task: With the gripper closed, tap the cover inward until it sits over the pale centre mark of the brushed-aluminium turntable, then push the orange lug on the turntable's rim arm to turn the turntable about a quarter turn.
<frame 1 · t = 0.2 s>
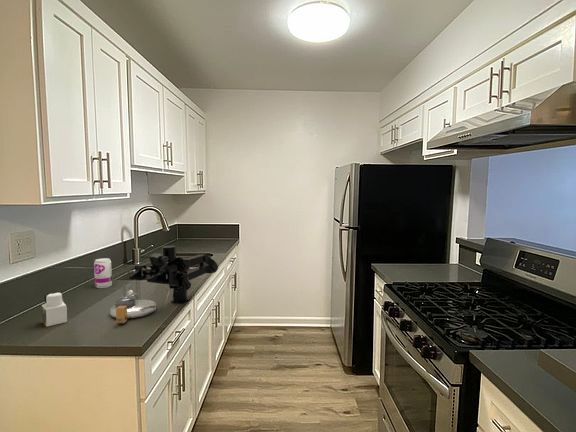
hand: (138, 279, 142), 17 cm above the worktop, tool horizontal, fingers open, 9 cm apart
cover: (125, 305, 153), point 3 cm above the worktop, touching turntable
medicine bottle: (54, 322, 140), on the worktop
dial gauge: (133, 302, 164), on the worktop
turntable: (131, 305, 149), point 4 cm above the worktop, hinge at 0.0°, touching cover
supplement can: (103, 286, 191), on the worktop
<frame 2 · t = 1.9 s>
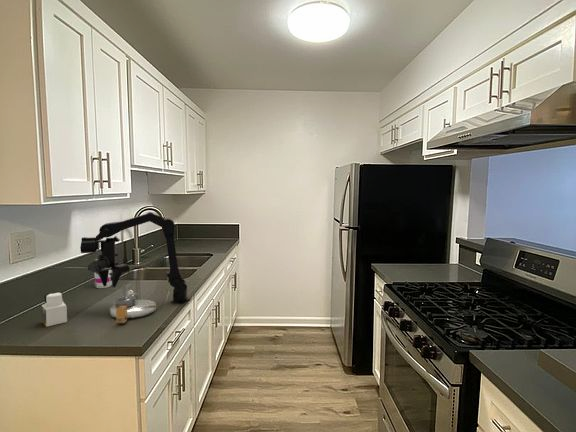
hand: (109, 286, 155), 10 cm above the worktop, tool pointing down, fingers open, 5 cm apart
nothing on the worktop moved.
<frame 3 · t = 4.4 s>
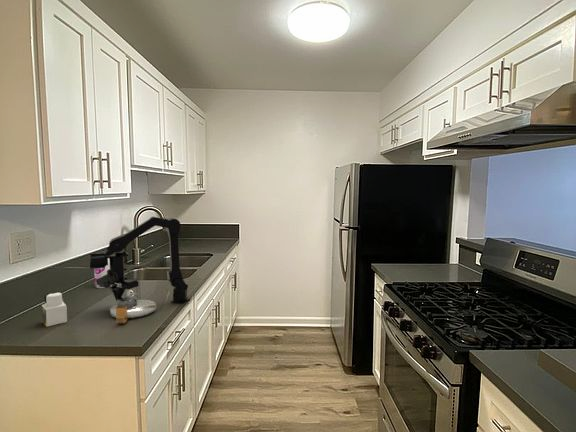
hand: (118, 301, 154), 4 cm above the worktop, tool pointing down, fingers closed
cover: (127, 305, 152), point 3 cm above the worktop, touching gripper, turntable
everything else where it was.
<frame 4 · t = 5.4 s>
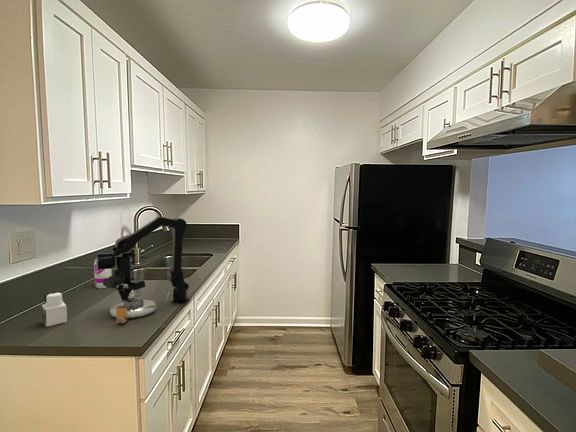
hand: (124, 302, 153), 4 cm above the worktop, tool pointing down, fingers closed
cover: (133, 306, 151), point 3 cm above the worktop, touching gripper
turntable: (131, 305, 149), point 4 cm above the worktop, hinge at 0.1°
everything else where it was.
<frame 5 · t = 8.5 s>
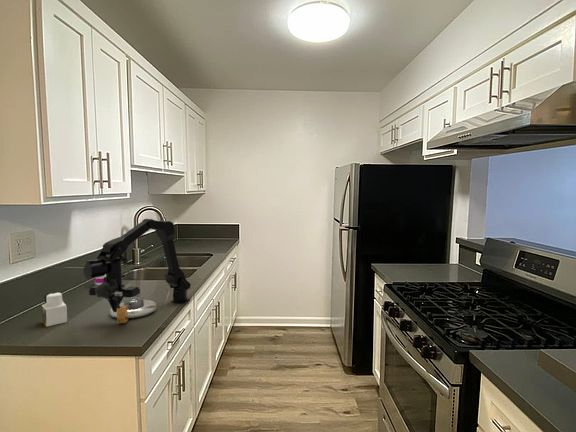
hand: (115, 311, 139), 4 cm above the worktop, tool pointing down, fingers closed
cover: (133, 306, 151), point 3 cm above the worktop, touching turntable
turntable: (131, 305, 149), point 4 cm above the worktop, hinge at 1.2°, touching cover, gripper
everything else where it was.
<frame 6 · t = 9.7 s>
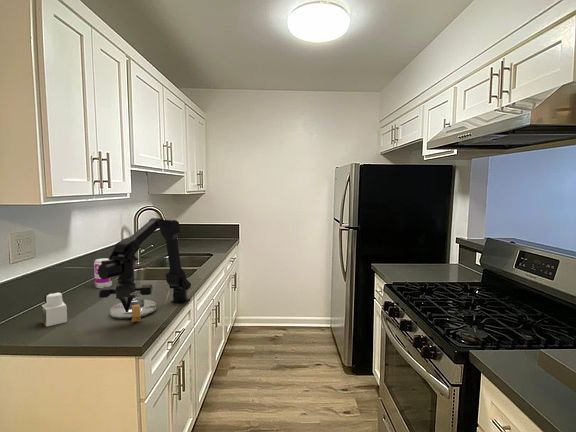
hand: (127, 311, 139), 5 cm above the worktop, tool pointing down, fingers closed
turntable: (133, 305, 149), point 4 cm above the worktop, hinge at 24.0°, touching cover, gripper
everything else where it was.
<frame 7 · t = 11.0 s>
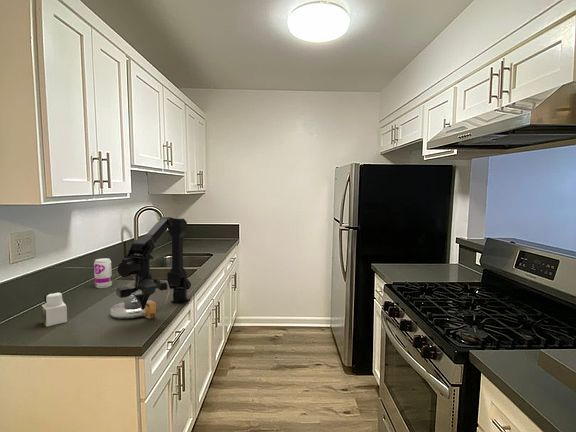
hand: (142, 309, 142), 5 cm above the worktop, tool pointing down, fingers closed
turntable: (136, 305, 150), point 4 cm above the worktop, hinge at 50.8°, touching cover, gripper
everything else where it was.
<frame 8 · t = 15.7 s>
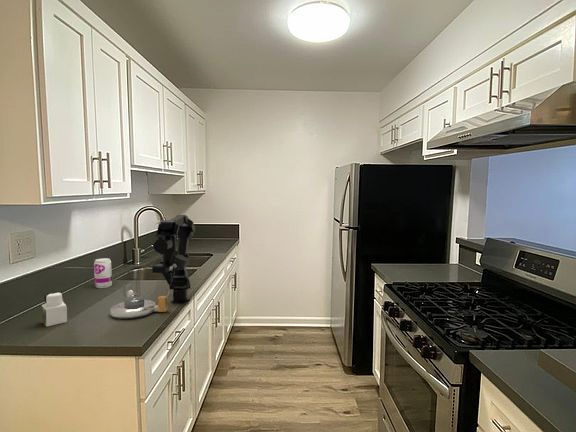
hand: (170, 284, 152), 12 cm above the worktop, tool pointing down, fingers closed
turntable: (139, 304, 151), point 4 cm above the worktop, hinge at 88.3°, touching cover
everything else where it was.
at the end: cover 0.4 cm from the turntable (horizontally); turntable at +88° (first picture: +0°); cover tilted 0° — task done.
